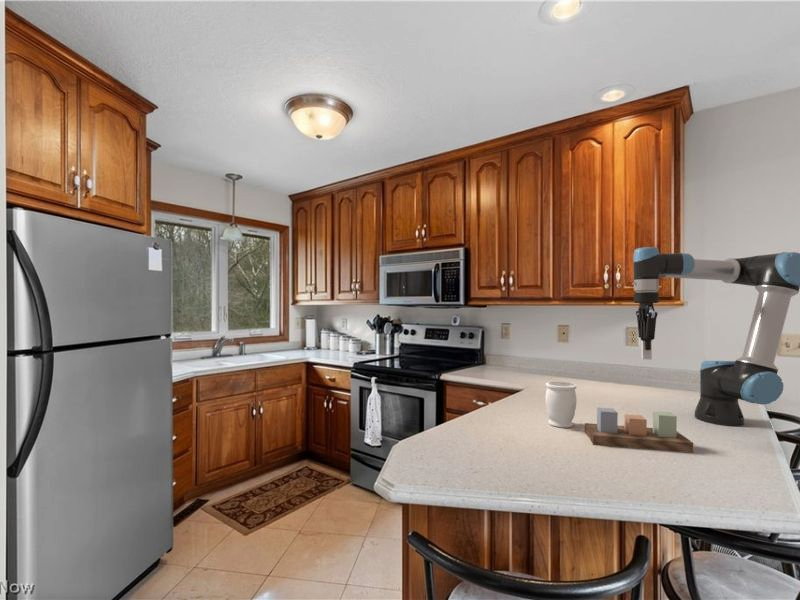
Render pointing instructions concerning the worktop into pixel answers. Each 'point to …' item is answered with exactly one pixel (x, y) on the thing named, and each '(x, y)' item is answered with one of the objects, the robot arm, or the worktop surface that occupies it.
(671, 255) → the robot arm
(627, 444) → the brown board
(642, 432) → the terracotta toy cube
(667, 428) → the sage green block
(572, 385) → the jar
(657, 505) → the worktop surface
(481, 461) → the worktop surface
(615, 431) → the blue-gray block
